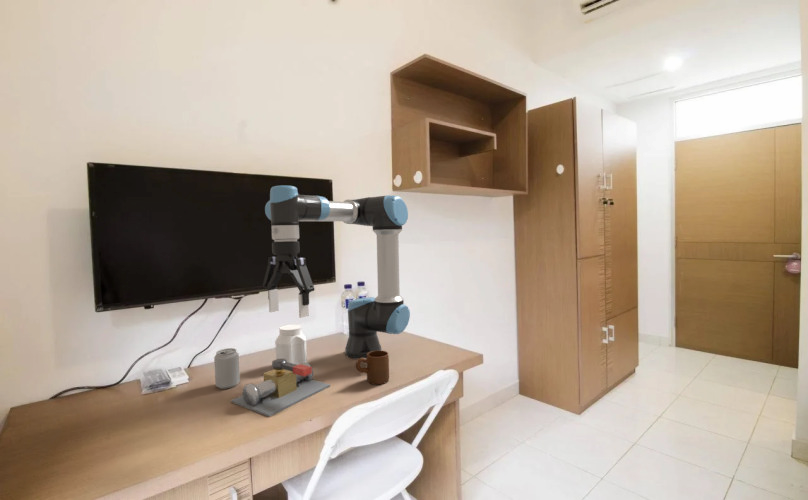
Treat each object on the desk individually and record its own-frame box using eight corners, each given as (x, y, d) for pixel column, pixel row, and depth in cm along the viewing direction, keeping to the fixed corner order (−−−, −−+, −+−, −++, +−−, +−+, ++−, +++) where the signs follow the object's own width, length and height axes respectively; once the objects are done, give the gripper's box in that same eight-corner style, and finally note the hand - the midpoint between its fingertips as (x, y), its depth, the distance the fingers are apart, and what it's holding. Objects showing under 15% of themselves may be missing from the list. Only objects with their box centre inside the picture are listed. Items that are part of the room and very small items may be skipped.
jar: (282, 372, 140) (281, 332, 139) (272, 366, 147) (270, 327, 146) (311, 364, 147) (310, 326, 147) (300, 358, 155) (299, 322, 154)
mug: (361, 390, 123) (360, 361, 123) (351, 382, 130) (350, 355, 129) (393, 381, 129) (392, 354, 129) (382, 374, 136) (382, 348, 135)
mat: (293, 375, 137) (293, 374, 137) (330, 386, 127) (330, 384, 127) (231, 402, 117) (231, 400, 117) (269, 416, 107) (268, 414, 107)
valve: (300, 379, 133) (299, 356, 133) (314, 383, 130) (313, 359, 129) (242, 404, 115) (241, 377, 114) (257, 410, 111) (255, 382, 110)
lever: (269, 368, 121) (269, 361, 121) (280, 363, 125) (280, 357, 125) (302, 377, 113) (302, 370, 113) (313, 372, 116) (313, 366, 116)
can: (212, 385, 129) (210, 351, 129) (234, 379, 135) (232, 345, 134) (221, 391, 124) (219, 355, 124) (243, 384, 130) (242, 350, 129)
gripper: (248, 241, 113) (251, 311, 115) (304, 241, 99) (306, 321, 100) (270, 240, 119) (273, 307, 121) (325, 240, 105) (328, 316, 106)
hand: (288, 314), depth 110 cm, fingers open, 13 cm apart
